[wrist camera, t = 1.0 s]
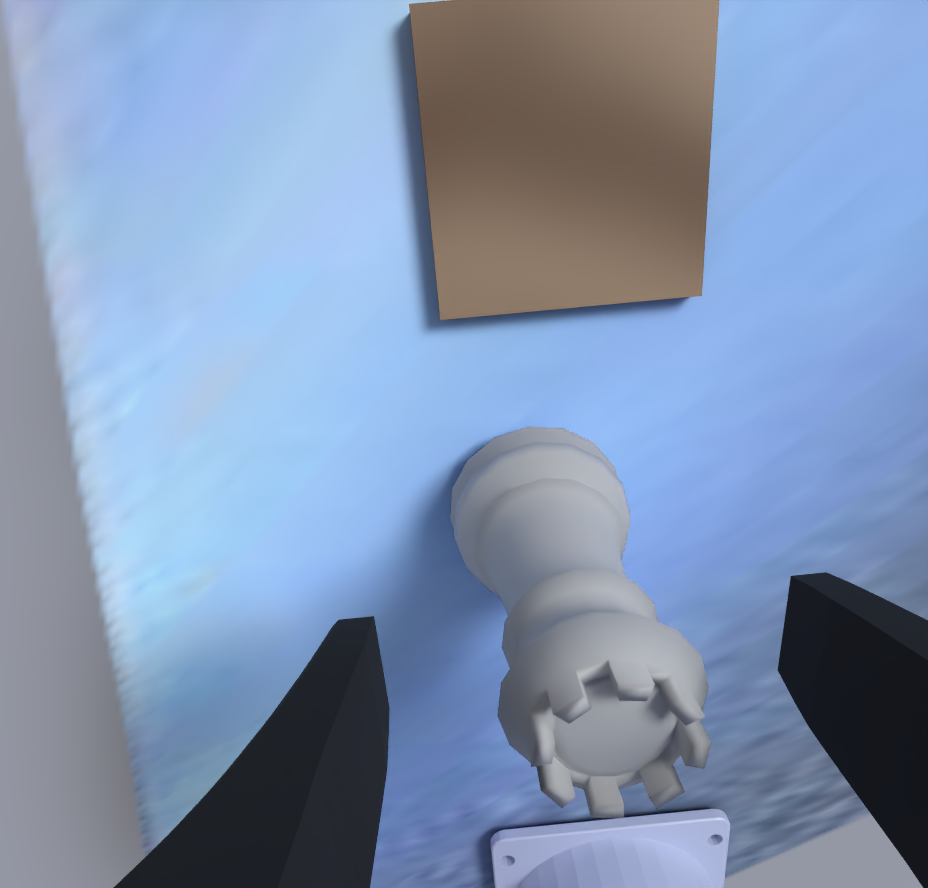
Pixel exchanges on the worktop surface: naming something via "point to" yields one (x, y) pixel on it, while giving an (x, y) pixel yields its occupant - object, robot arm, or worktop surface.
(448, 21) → the walnut tile
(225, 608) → the worktop surface
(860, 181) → the worktop surface
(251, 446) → the worktop surface
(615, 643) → the rook chess piece
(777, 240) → the worktop surface
